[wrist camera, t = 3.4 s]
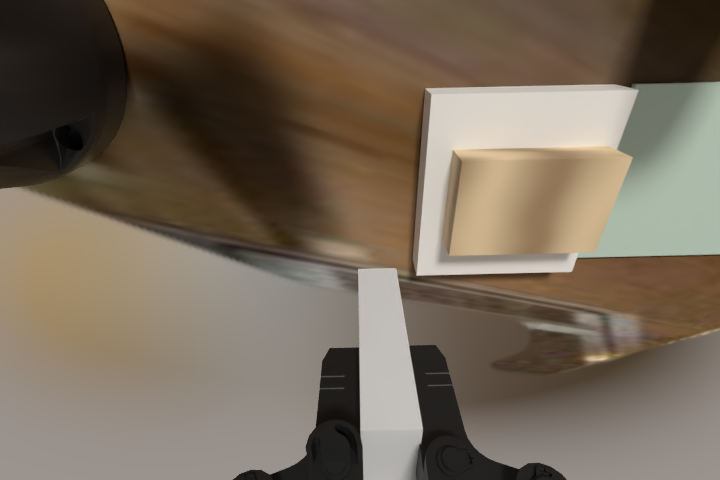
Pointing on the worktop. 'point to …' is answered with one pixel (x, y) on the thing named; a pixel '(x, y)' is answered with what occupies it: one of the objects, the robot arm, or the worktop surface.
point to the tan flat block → (531, 199)
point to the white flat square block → (501, 131)
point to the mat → (668, 175)
